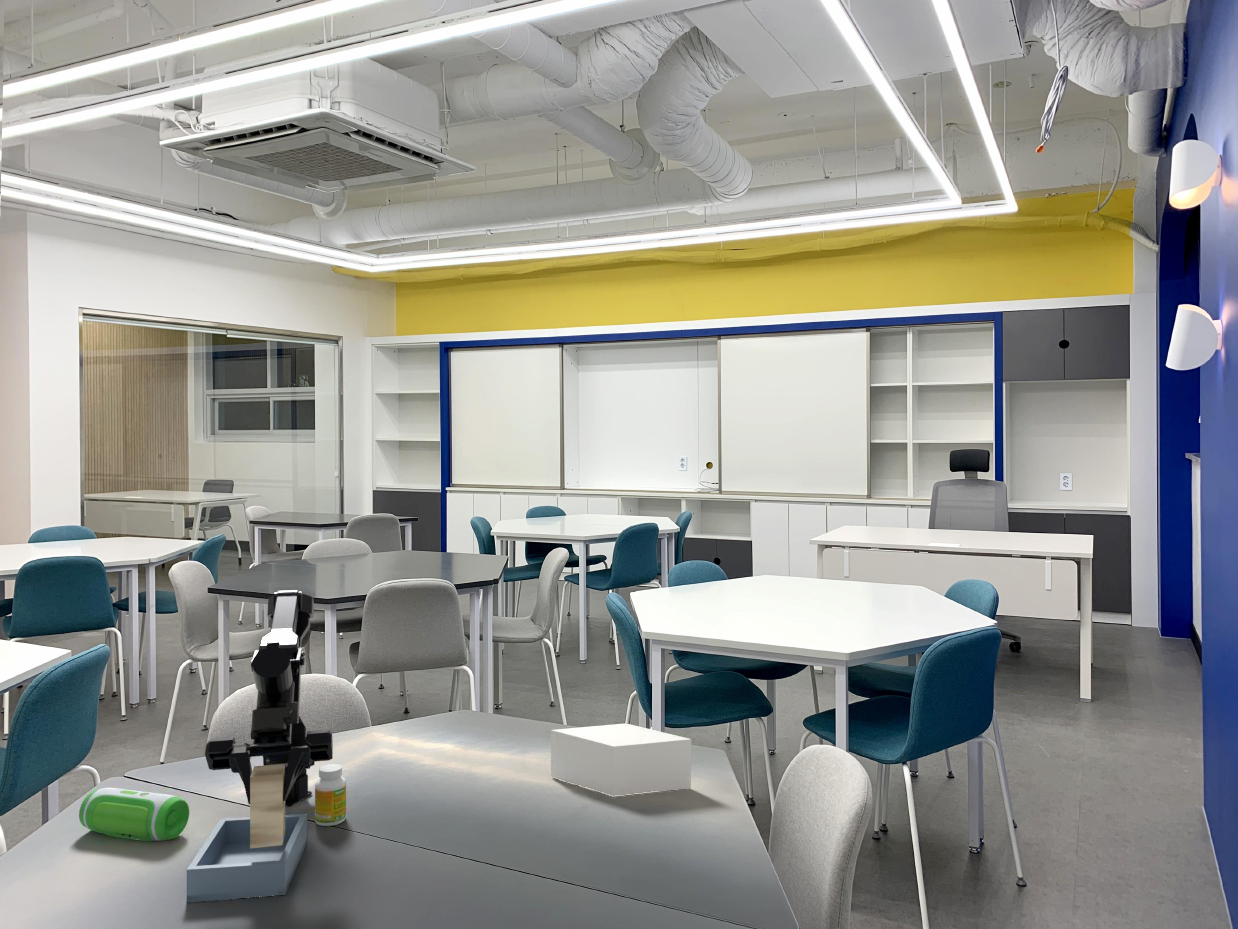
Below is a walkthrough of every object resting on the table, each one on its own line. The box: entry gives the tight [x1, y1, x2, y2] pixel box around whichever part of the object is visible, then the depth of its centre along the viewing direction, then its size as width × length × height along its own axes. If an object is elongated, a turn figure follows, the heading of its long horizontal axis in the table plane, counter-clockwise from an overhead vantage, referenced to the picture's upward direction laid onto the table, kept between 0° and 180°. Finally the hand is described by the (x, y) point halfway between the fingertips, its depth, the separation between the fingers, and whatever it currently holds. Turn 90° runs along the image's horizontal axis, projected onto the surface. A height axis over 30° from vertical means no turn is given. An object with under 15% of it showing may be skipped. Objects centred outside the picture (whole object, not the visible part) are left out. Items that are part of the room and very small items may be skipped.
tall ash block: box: [249, 764, 286, 849], centre depth 136 cm, size 5×5×11 cm
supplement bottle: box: [314, 763, 347, 827], centre depth 159 cm, size 5×5×10 cm
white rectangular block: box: [550, 723, 692, 796], centre depth 178 cm, size 14×29×10 cm, turn 80°
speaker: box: [78, 787, 190, 842], centre depth 153 cm, size 18×7×8 cm, turn 76°
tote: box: [186, 813, 308, 904], centre depth 140 cm, size 18×14×5 cm
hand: (266, 801), depth 134 cm, fingers closed on tall ash block, 5 cm apart
